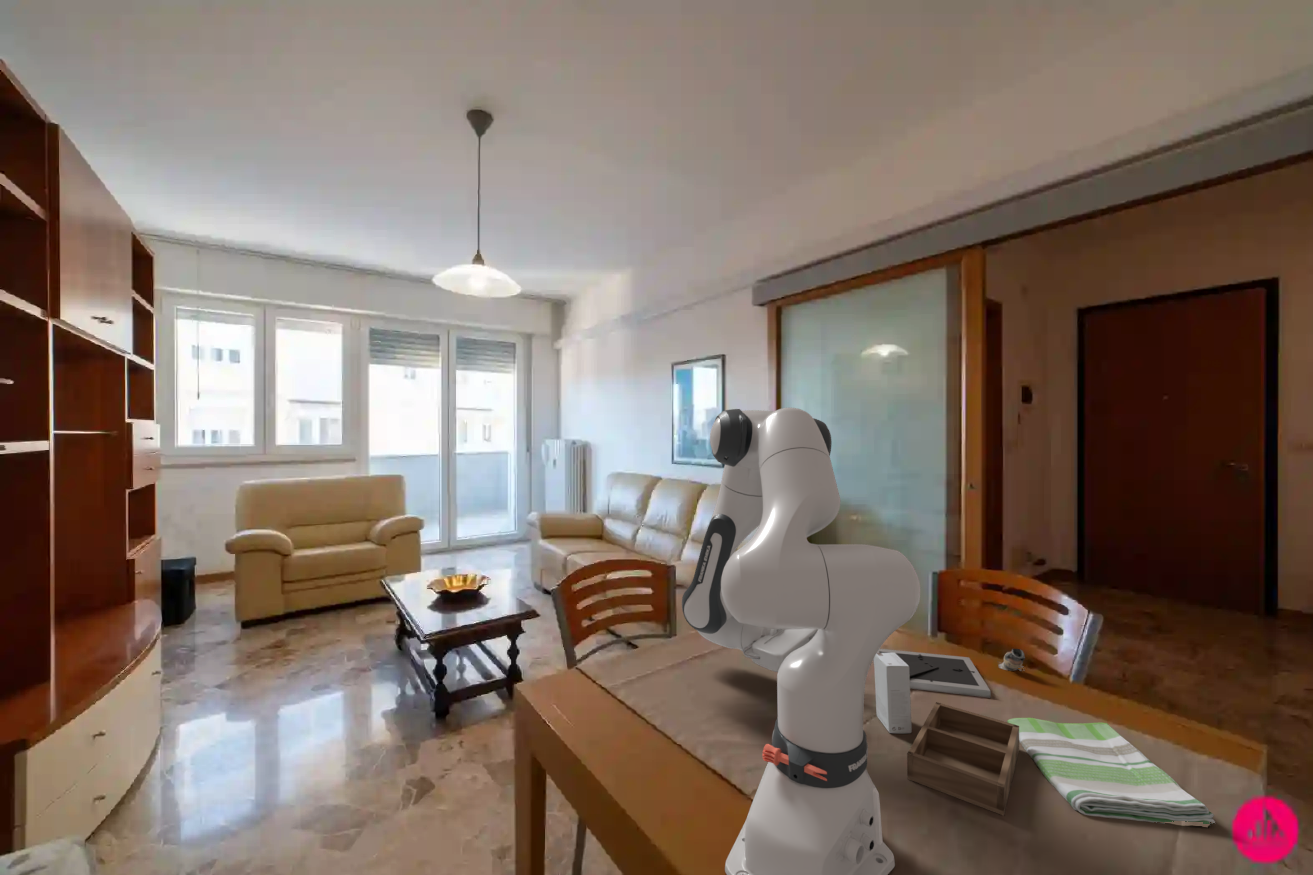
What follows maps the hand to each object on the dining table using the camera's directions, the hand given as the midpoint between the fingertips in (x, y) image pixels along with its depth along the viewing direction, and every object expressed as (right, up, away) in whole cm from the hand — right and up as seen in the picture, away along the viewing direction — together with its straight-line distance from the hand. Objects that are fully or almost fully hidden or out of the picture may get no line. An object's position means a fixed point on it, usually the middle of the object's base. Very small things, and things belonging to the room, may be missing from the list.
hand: (826, 653), depth 105 cm
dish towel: (+36, -10, -21) cm, 43 cm away
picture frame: (+26, -10, +11) cm, 30 cm away
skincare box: (+10, -10, -8) cm, 16 cm away
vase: (+45, -9, +11) cm, 47 cm away
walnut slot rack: (+16, -10, -20) cm, 27 cm away
